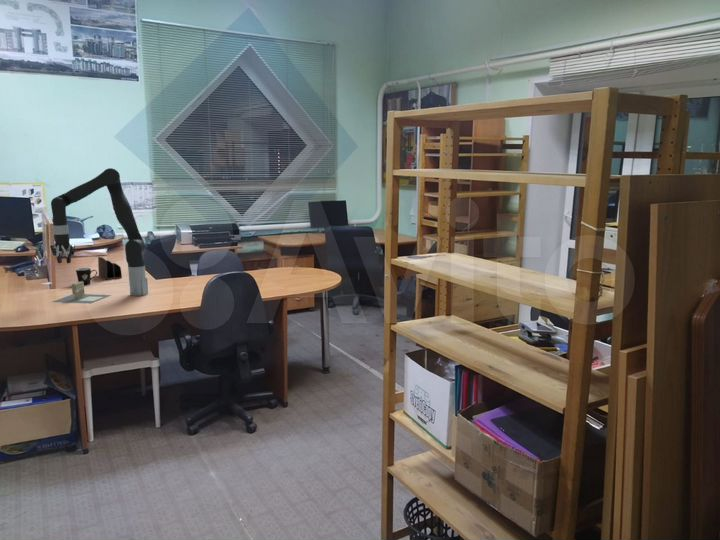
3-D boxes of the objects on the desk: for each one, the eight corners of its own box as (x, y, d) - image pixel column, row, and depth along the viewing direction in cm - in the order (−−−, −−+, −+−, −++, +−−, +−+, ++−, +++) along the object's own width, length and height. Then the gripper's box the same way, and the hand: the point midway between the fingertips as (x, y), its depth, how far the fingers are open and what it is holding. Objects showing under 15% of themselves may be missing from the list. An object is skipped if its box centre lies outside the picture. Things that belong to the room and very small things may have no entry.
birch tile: (84, 296, 310) (83, 281, 308) (77, 299, 303) (75, 284, 301) (80, 296, 310) (79, 281, 309) (72, 299, 303) (71, 284, 302)
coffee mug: (75, 286, 343) (73, 270, 341) (79, 283, 352) (78, 268, 350) (94, 285, 346) (93, 270, 344) (98, 282, 354) (97, 267, 352)
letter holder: (106, 280, 362) (104, 259, 360) (98, 275, 377) (96, 256, 374) (122, 278, 368) (120, 258, 366) (113, 274, 383) (112, 254, 381)
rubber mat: (112, 296, 315) (112, 295, 315) (91, 305, 295) (91, 303, 295) (74, 295, 318) (74, 293, 318) (51, 303, 298) (50, 301, 298)
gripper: (77, 232, 303) (80, 262, 307) (54, 232, 305) (57, 261, 308) (68, 234, 296) (71, 264, 299) (44, 233, 298) (48, 264, 301)
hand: (64, 263), depth 304 cm, fingers open, 4 cm apart
